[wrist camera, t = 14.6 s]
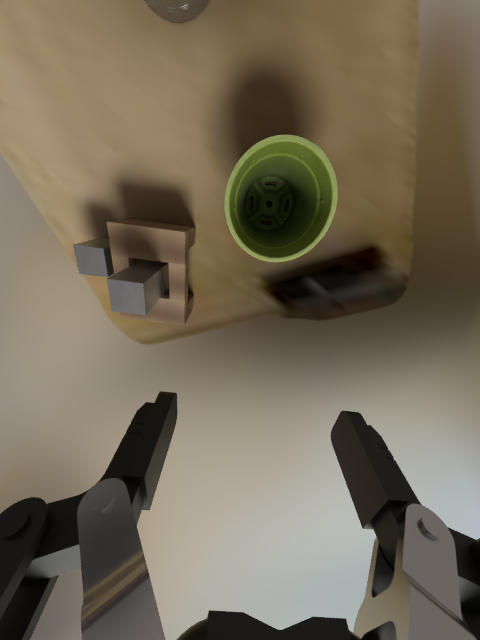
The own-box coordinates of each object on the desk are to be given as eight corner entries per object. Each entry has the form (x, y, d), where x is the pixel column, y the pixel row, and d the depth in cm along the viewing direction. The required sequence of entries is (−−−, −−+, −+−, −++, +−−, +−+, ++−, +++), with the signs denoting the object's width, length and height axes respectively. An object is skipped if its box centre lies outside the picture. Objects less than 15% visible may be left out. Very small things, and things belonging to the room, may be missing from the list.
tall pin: (152, 252, 37) (106, 278, 24) (176, 256, 37) (143, 283, 25) (154, 276, 39) (111, 310, 26) (177, 279, 39) (145, 315, 27)
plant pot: (248, 257, 37) (250, 278, 27) (216, 181, 32) (204, 172, 22) (318, 226, 34) (348, 236, 25) (295, 138, 29) (321, 106, 20)
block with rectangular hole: (131, 218, 34) (106, 221, 28) (195, 226, 35) (185, 232, 29) (139, 300, 41) (120, 317, 35) (193, 306, 41) (184, 325, 35)
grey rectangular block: (102, 237, 36) (73, 244, 30) (127, 240, 36) (103, 248, 30) (106, 261, 38) (79, 273, 32) (130, 264, 38) (107, 277, 32)
